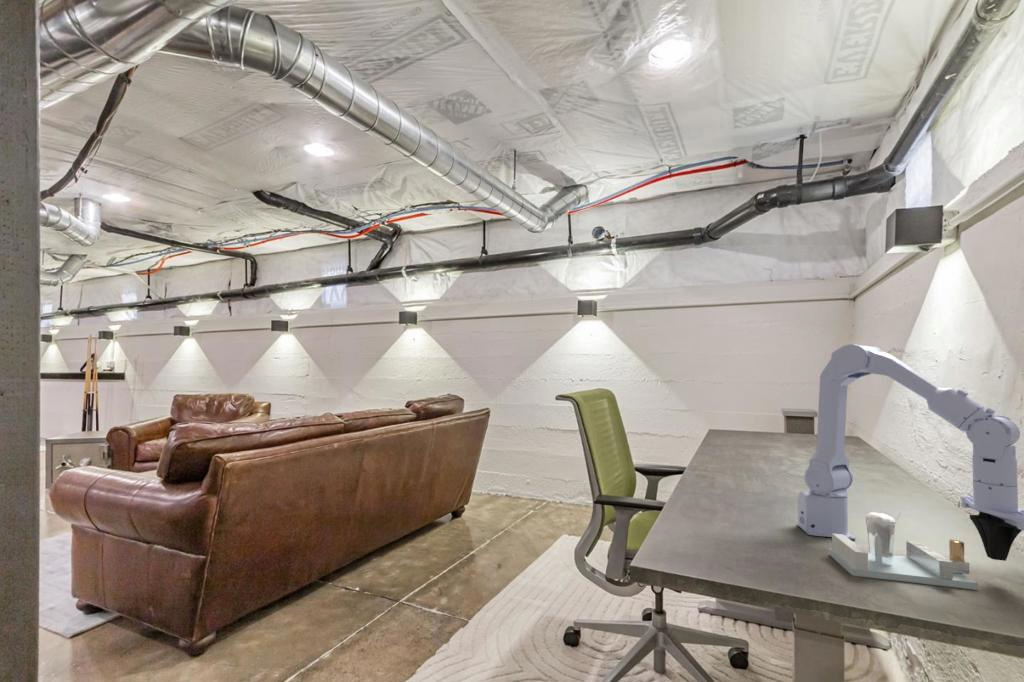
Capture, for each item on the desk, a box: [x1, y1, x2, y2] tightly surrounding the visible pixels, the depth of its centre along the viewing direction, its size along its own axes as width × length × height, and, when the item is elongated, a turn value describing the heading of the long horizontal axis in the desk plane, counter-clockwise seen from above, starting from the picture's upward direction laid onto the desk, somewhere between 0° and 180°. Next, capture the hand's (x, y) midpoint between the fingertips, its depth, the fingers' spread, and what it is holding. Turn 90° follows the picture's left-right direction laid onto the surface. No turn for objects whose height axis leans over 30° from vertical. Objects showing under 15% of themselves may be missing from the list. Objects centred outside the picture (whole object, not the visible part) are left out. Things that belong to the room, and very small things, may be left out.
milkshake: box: [865, 511, 901, 566], centre depth 90 cm, size 5×5×10 cm
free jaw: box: [905, 539, 970, 579], centre depth 88 cm, size 6×10×5 cm, turn 167°
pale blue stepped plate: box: [828, 533, 978, 591], centre depth 89 cm, size 19×10×4 cm, turn 77°
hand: (996, 558), depth 86 cm, fingers closed
